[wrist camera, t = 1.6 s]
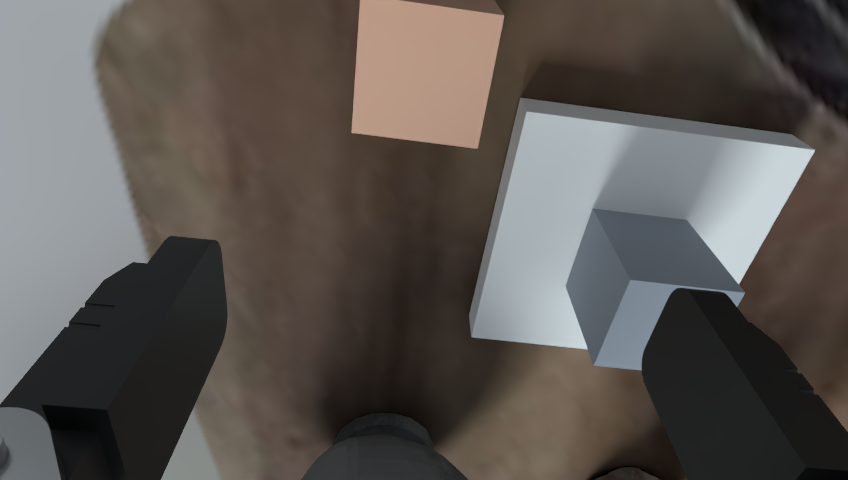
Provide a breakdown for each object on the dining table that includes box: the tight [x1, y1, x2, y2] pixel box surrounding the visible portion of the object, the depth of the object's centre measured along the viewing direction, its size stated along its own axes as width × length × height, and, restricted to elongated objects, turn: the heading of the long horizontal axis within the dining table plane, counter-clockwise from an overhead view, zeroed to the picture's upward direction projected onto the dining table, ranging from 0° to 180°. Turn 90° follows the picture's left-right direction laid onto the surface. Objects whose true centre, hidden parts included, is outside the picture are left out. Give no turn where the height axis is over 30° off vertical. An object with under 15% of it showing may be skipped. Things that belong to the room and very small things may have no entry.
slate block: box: [566, 208, 745, 370], centre depth 26 cm, size 5×5×6 cm
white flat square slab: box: [469, 98, 815, 349], centre depth 30 cm, size 14×14×2 cm
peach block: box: [352, 0, 505, 149], centre depth 22 cm, size 5×5×6 cm
